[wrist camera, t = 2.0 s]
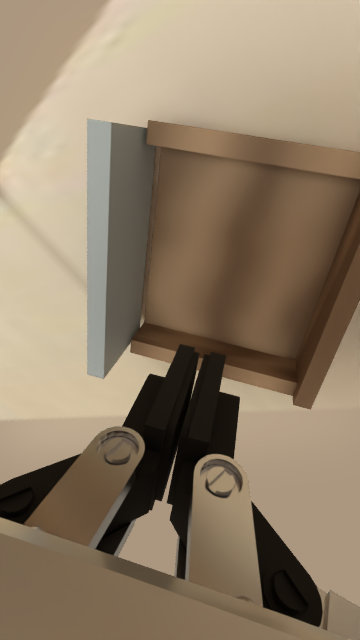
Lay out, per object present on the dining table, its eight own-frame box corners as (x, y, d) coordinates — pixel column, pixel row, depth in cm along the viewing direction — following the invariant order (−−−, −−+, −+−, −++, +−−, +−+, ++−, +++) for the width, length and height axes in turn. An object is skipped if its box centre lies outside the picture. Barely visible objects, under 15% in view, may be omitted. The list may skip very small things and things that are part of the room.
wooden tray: (384, 158, 21) (421, 161, 16) (303, 362, 29) (310, 409, 23) (171, 125, 23) (142, 118, 18) (150, 323, 31) (125, 359, 25)
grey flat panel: (157, 129, 21) (111, 122, 15) (139, 330, 29) (103, 378, 23) (131, 125, 21) (75, 116, 15) (120, 325, 29) (79, 372, 23)
